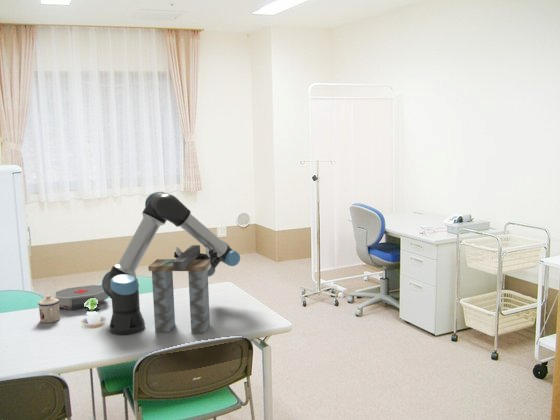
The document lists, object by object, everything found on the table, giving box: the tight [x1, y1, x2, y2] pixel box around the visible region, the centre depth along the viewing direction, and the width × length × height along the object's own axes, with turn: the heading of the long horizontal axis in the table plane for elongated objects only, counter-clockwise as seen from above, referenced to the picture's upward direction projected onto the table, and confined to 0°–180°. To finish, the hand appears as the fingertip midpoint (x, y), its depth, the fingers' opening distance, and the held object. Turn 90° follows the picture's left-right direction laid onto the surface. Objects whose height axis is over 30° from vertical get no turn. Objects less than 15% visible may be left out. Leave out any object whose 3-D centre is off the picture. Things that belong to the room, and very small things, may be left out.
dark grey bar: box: [173, 244, 201, 272], centre depth 236 cm, size 4×30×4 cm, turn 175°
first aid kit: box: [54, 284, 109, 310], centre depth 273 cm, size 18×8×25 cm
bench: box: [148, 258, 211, 334], centre depth 237 cm, size 24×12×30 cm, turn 85°
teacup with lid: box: [37, 294, 61, 324], centre depth 251 cm, size 12×9×12 cm
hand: (191, 250), depth 243 cm, fingers open, 13 cm apart
